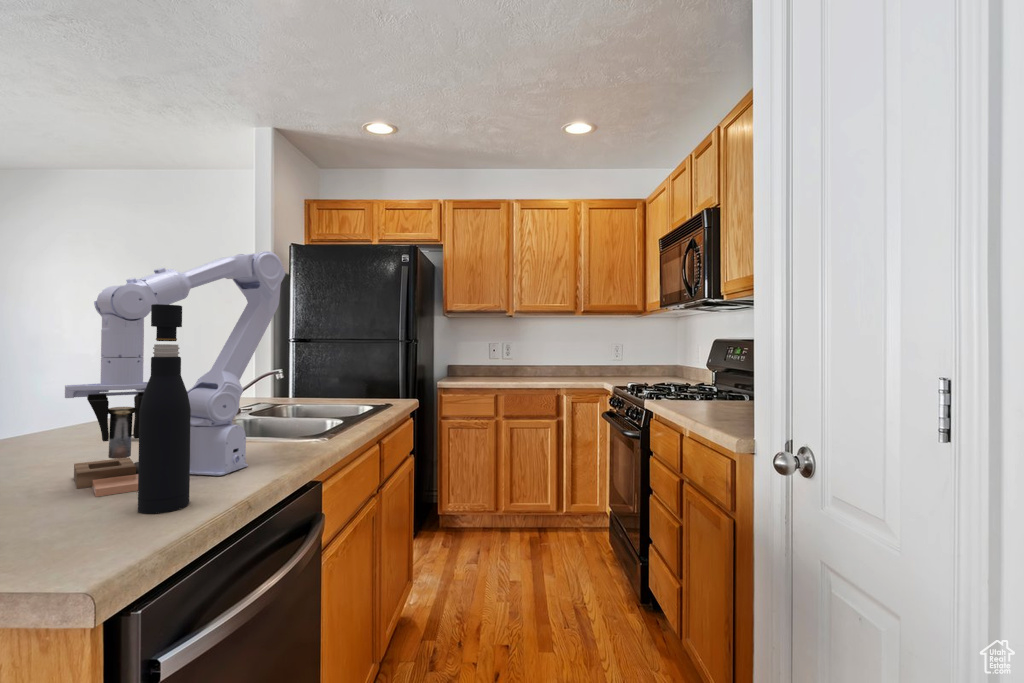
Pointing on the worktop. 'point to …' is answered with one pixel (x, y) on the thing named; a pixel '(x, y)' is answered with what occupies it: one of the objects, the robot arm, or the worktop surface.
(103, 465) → the clamp block
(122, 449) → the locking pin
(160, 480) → the black water bottle
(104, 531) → the worktop surface
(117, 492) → the tile pad
